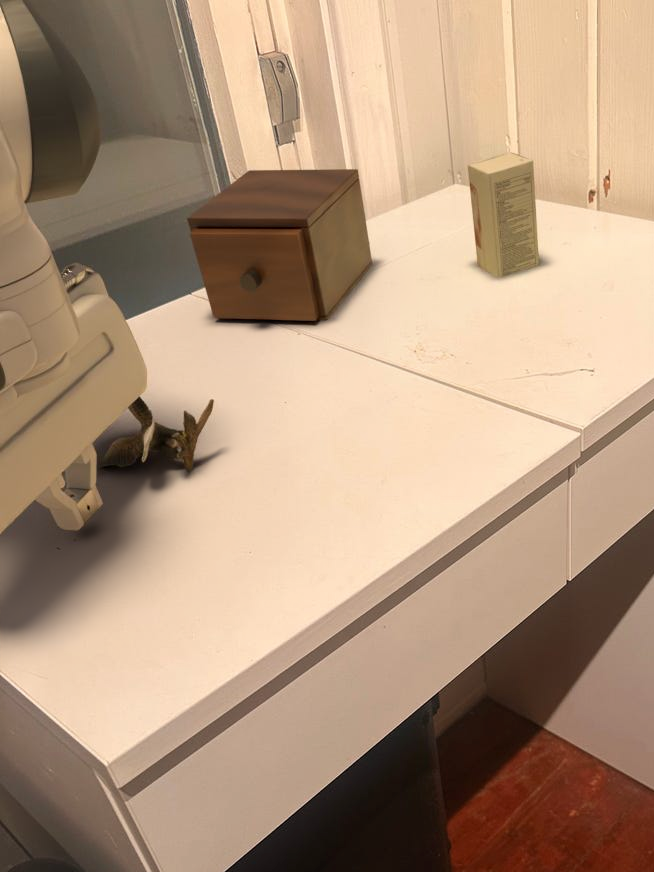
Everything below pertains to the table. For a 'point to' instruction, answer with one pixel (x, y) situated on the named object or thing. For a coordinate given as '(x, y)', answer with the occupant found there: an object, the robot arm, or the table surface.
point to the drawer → (256, 272)
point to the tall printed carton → (504, 213)
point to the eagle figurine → (156, 438)
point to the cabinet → (303, 221)
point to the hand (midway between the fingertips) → (82, 517)
